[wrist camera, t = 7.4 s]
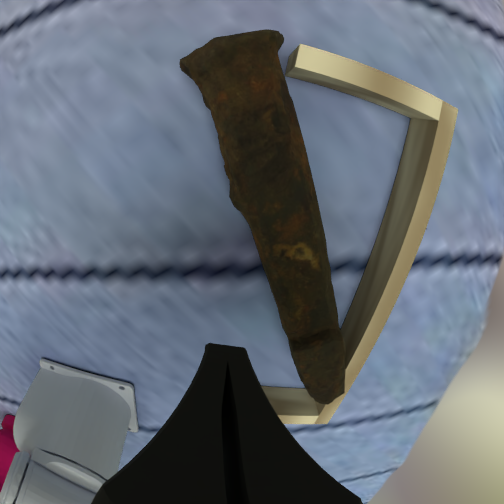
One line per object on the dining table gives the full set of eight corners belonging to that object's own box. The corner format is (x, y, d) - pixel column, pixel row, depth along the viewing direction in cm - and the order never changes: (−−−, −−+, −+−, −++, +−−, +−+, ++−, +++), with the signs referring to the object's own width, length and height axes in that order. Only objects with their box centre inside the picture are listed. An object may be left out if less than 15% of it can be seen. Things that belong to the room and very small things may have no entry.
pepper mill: (25, 440, 30) (-8, 537, 12) (-5, 410, 27) (-49, 511, 9) (53, 444, 29) (20, 555, 11) (20, 413, 26) (-26, 530, 8)
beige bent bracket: (216, 390, 23) (215, 418, 21) (289, 56, 14) (300, 43, 11) (320, 397, 25) (327, 423, 22) (429, 107, 15) (458, 109, 12)
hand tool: (188, 64, 14) (165, 40, 9) (274, 43, 14) (290, 11, 9) (276, 373, 23) (284, 429, 18) (334, 359, 23) (352, 412, 18)
